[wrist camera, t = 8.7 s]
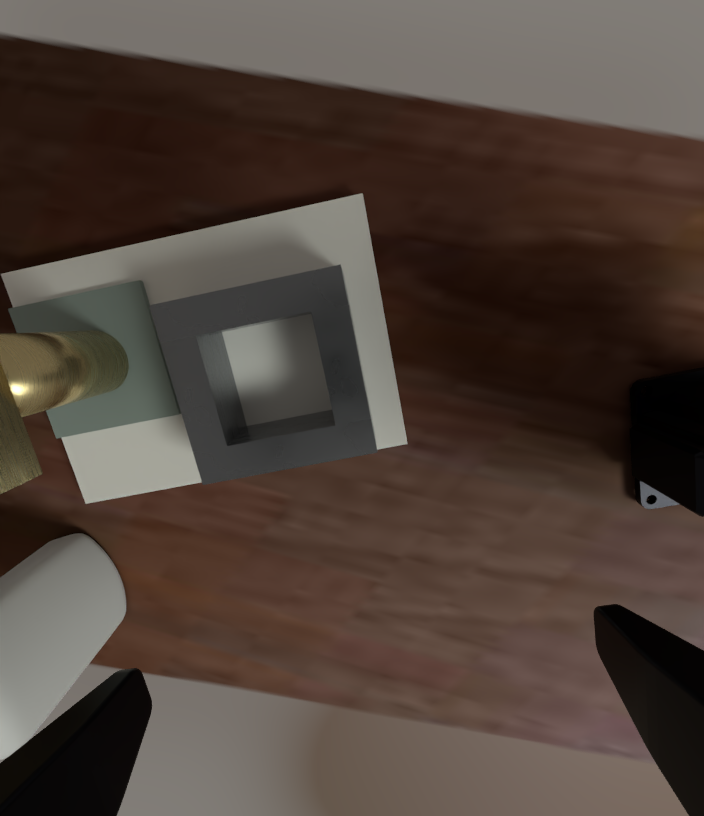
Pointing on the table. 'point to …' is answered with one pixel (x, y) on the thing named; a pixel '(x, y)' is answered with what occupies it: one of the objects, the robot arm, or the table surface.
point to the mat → (135, 330)
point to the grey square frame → (216, 389)
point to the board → (231, 332)
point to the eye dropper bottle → (52, 629)
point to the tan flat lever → (49, 386)
